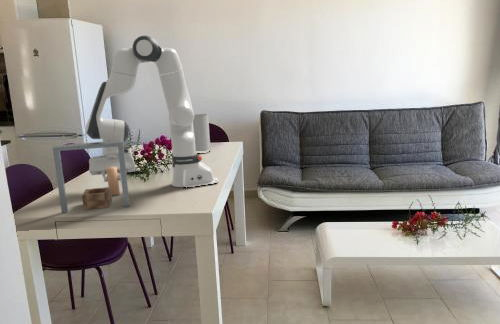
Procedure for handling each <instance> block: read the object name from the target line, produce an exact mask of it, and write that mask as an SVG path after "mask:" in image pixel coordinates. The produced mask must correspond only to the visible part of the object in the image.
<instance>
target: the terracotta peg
mask: <svg viewBox="0 0 500 324" xmlns="http://www.w3.org/2000/svg"><path fill="white" fill-rule="evenodd" d="M106 170H107V174H106V177H107V178H108V182H107V185H108V186H107V187H111V196H117V195H119V194H120V193H121V191H120V184H119V181H118V174H119V173H117V167H109V168H106Z"/></svg>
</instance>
